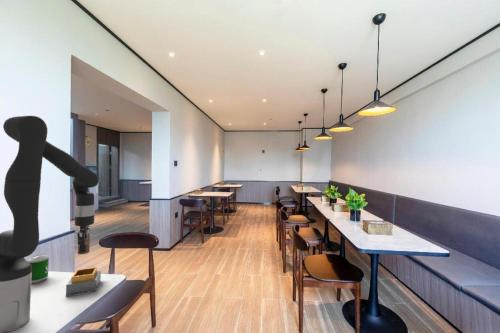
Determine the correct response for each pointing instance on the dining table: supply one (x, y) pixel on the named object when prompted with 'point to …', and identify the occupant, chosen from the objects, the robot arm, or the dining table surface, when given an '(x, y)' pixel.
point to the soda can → (39, 267)
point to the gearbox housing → (83, 281)
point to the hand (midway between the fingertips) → (83, 250)
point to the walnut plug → (86, 245)
